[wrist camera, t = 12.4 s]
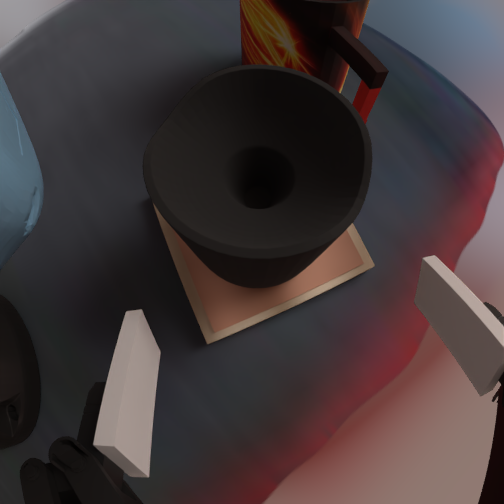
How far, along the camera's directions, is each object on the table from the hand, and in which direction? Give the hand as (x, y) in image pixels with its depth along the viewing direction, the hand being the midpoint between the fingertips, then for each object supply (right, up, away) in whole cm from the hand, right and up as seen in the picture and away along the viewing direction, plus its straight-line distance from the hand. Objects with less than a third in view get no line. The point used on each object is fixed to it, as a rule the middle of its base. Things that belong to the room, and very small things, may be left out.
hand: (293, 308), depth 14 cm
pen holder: (-2, +4, +8) cm, 9 cm away
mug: (+4, +18, +13) cm, 22 cm away
